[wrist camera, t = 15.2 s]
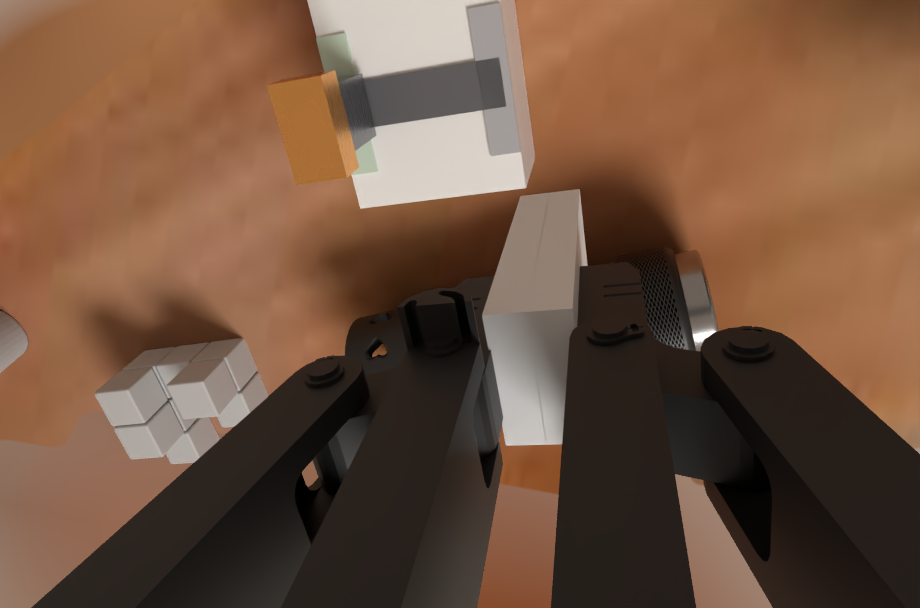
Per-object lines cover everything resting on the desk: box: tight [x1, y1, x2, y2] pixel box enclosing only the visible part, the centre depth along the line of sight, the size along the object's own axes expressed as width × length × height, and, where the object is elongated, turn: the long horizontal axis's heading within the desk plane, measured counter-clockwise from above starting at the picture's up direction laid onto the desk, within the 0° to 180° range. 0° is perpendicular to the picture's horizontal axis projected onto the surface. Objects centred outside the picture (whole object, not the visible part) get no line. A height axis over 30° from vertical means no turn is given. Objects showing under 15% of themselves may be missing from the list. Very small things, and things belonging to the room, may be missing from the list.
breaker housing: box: [307, 0, 535, 209], centre depth 45 cm, size 12×14×8 cm
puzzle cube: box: [94, 338, 268, 464], centre depth 64 cm, size 12×12×8 cm
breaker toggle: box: [267, 70, 376, 185], centre depth 39 cm, size 3×6×8 cm, turn 11°
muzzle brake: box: [345, 247, 718, 375], centre depth 52 cm, size 10×28×10 cm, turn 109°
